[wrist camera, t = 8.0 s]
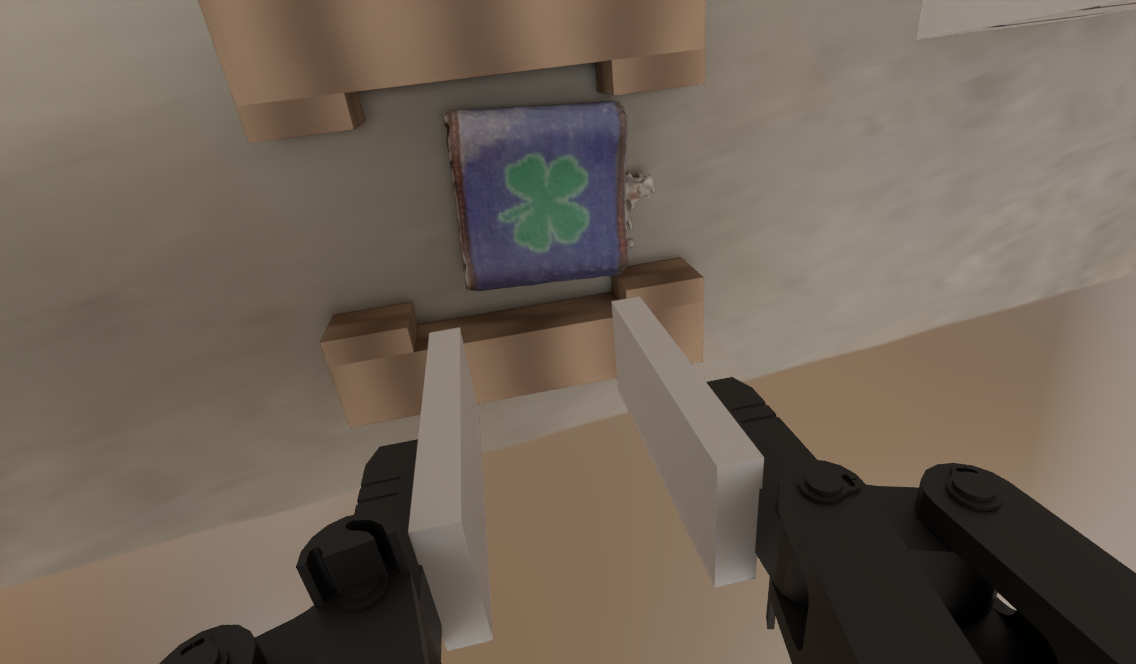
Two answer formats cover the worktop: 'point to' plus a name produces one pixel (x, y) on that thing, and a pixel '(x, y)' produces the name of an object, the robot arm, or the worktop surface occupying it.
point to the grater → (1006, 14)
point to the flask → (542, 192)
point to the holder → (446, 52)
